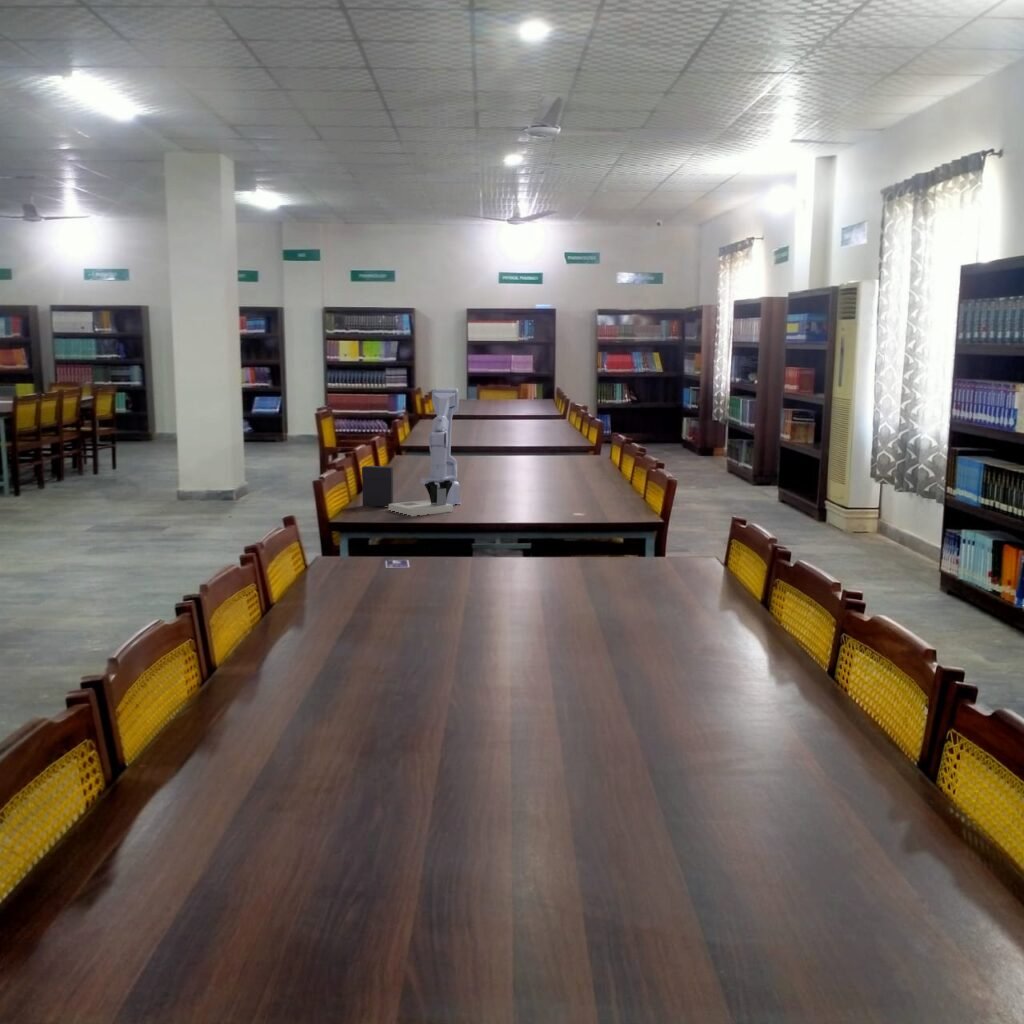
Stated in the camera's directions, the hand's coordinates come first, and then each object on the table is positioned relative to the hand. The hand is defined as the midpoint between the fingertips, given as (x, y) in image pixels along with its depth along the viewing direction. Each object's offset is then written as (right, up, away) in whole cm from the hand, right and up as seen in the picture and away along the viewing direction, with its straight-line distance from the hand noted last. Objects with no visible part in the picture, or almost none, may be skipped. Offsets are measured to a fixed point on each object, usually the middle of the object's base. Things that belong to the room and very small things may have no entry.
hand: (438, 502), depth 352 cm
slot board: (-6, -3, 0) cm, 7 cm away
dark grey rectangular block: (-23, -2, +10) cm, 25 cm away
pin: (0, -1, 0) cm, 1 cm away
